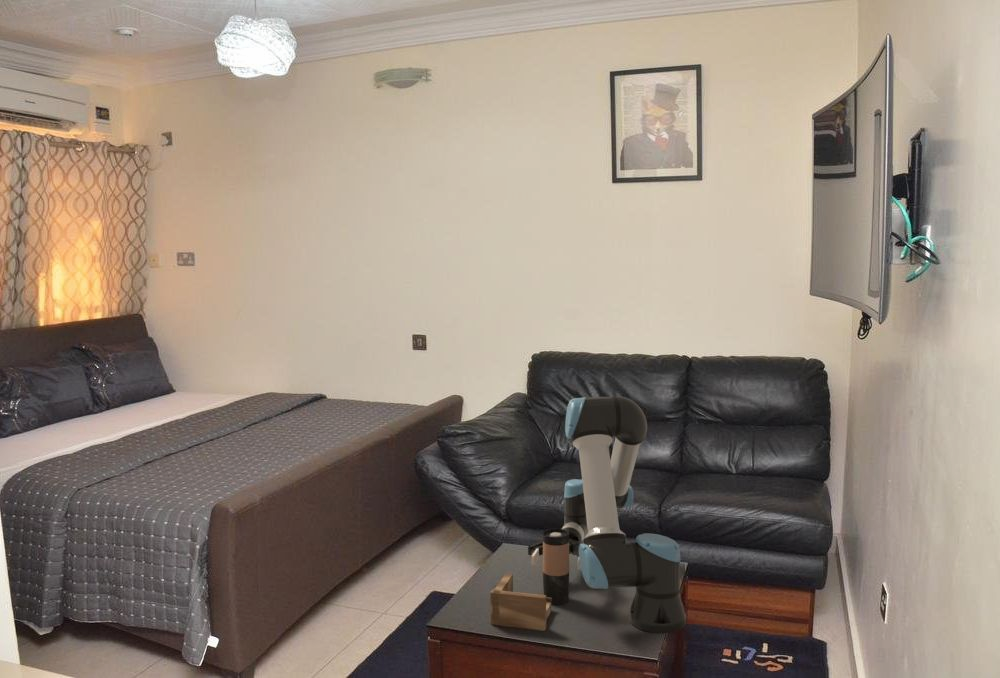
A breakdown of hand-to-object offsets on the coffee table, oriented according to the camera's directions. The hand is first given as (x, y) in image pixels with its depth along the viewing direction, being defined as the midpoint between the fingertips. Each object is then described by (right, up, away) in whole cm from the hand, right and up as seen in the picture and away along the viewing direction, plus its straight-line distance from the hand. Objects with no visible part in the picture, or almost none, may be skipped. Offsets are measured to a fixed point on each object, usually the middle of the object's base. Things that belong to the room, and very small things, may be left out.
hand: (555, 563), depth 241 cm
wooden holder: (-8, -12, -10) cm, 18 cm away
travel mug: (0, -11, +1) cm, 11 cm away
